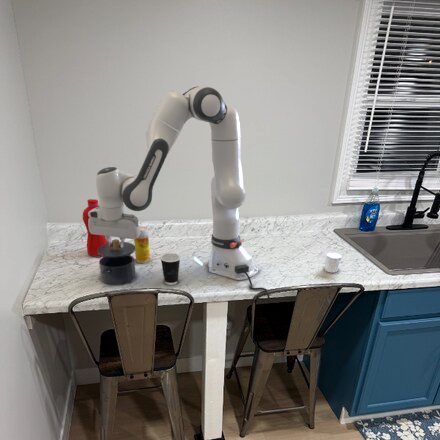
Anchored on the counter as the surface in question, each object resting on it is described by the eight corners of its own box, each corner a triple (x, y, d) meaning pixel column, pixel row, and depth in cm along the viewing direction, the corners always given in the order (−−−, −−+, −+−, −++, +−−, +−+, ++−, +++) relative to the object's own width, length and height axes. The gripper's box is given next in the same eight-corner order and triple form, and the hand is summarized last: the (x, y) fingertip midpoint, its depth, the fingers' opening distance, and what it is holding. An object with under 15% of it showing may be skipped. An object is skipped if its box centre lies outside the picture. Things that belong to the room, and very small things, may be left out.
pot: (143, 269, 171) (142, 253, 167) (122, 290, 155) (121, 272, 151) (115, 265, 174) (113, 249, 170) (91, 284, 158) (88, 267, 154)
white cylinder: (330, 274, 173) (332, 259, 169) (319, 268, 178) (322, 253, 174) (342, 271, 175) (345, 256, 172) (331, 265, 181) (334, 251, 177)
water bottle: (114, 248, 190) (108, 196, 177) (104, 258, 180) (98, 203, 168) (95, 247, 191) (88, 194, 179) (85, 256, 181) (77, 201, 169)
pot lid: (141, 246, 164) (141, 235, 161) (125, 261, 151) (124, 249, 149) (109, 242, 167) (108, 232, 165) (90, 256, 155) (88, 245, 152)
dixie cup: (171, 275, 167) (170, 251, 161) (185, 281, 163) (184, 256, 157) (157, 282, 161) (155, 257, 156) (171, 288, 157) (170, 263, 152)
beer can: (147, 264, 176) (144, 231, 169) (133, 262, 177) (131, 230, 169) (151, 258, 181) (149, 227, 174) (139, 257, 182) (136, 225, 175)
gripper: (141, 212, 152) (144, 246, 158) (92, 207, 156) (97, 240, 163) (133, 217, 146) (137, 252, 153) (83, 212, 151) (89, 246, 158)
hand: (116, 246), depth 158 cm, fingers closed on pot lid, 2 cm apart
